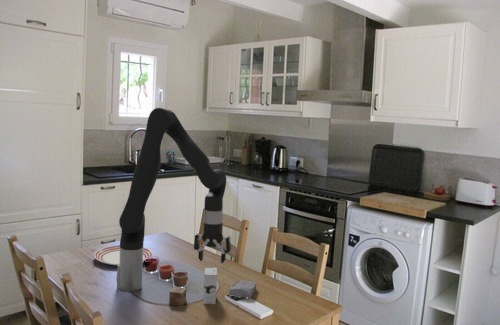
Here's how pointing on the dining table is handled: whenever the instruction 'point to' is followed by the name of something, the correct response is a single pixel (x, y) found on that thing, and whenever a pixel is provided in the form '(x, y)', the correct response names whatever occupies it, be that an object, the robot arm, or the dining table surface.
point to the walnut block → (177, 296)
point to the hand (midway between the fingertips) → (211, 261)
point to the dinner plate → (116, 255)
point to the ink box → (210, 286)
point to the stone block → (243, 288)
